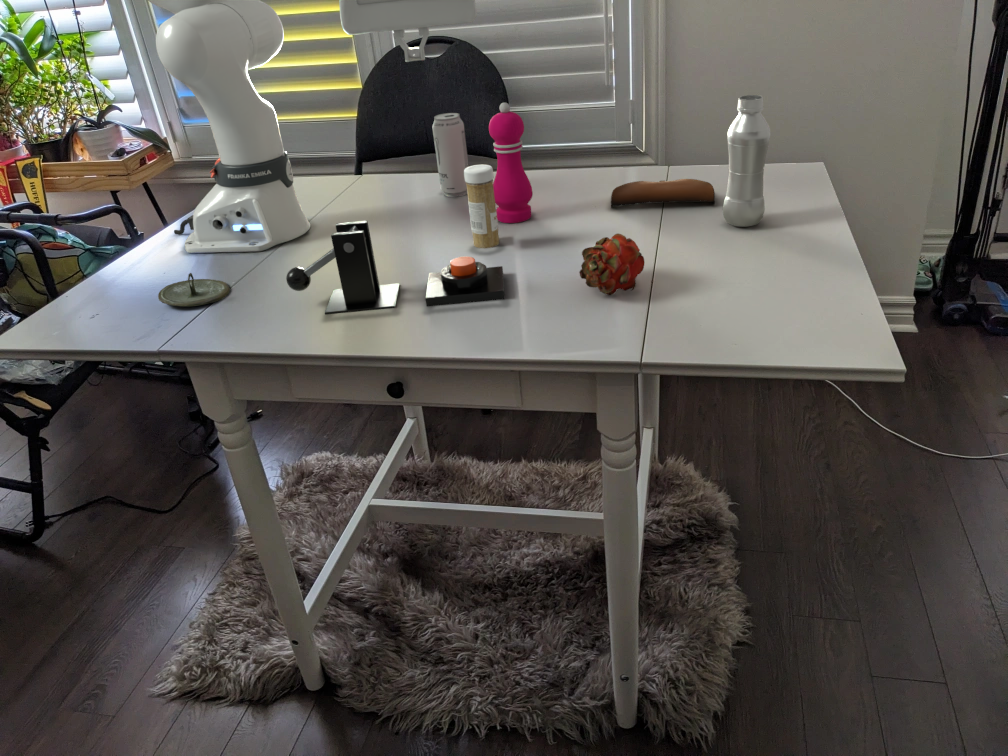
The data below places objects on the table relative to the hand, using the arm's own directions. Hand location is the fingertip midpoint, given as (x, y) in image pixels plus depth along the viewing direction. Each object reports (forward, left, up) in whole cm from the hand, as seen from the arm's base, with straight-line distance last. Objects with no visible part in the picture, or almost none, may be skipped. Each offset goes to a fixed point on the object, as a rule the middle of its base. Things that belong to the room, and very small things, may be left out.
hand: (415, 60), depth 123 cm
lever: (-14, -24, -23) cm, 36 cm away
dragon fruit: (+26, -26, -29) cm, 47 cm away
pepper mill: (+13, +8, -29) cm, 33 cm away
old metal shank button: (-37, -17, -29) cm, 50 cm away
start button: (+5, -24, -26) cm, 35 cm away
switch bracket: (-10, -24, -29) cm, 39 cm away
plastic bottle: (+50, -6, -29) cm, 58 cm away
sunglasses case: (+40, +9, -29) cm, 50 cm away
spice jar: (+8, -6, -29) cm, 31 cm away
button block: (+5, -24, -29) cm, 38 cm away
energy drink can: (+2, +26, -29) cm, 39 cm away
